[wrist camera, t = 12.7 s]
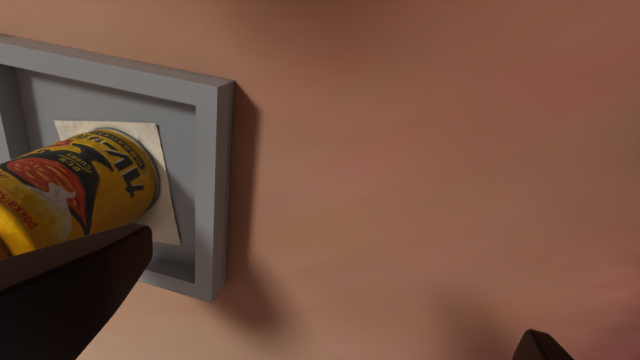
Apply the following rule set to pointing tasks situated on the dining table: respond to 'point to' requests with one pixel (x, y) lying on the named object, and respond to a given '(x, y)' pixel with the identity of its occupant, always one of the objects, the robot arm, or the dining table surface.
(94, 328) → the robot arm
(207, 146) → the slate tray
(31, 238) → the condiment
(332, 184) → the dining table surface
